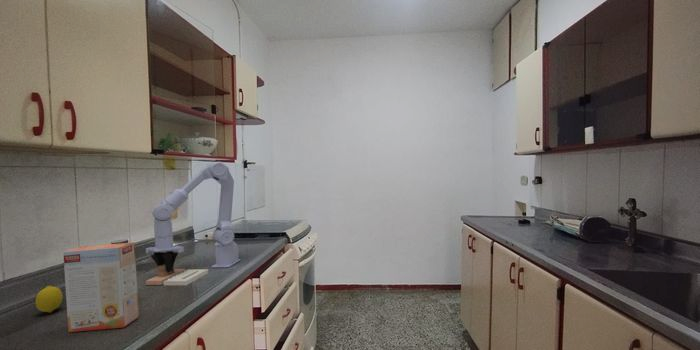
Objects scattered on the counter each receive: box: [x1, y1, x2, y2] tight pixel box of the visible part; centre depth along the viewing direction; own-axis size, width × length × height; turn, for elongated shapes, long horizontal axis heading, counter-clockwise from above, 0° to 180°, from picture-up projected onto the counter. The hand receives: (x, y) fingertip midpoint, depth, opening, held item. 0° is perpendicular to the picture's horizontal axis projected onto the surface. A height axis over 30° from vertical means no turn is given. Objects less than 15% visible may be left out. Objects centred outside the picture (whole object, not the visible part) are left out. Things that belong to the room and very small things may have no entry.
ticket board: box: [163, 268, 209, 286], centre depth 106 cm, size 12×9×2 cm
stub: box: [145, 264, 186, 286], centre depth 107 cm, size 12×6×6 cm, turn 172°
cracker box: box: [62, 242, 140, 333], centre depth 74 cm, size 14×6×21 cm, turn 92°
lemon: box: [34, 285, 64, 314], centre depth 84 cm, size 6×6×8 cm
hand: (166, 271), depth 107 cm, fingers closed on stub, 2 cm apart
